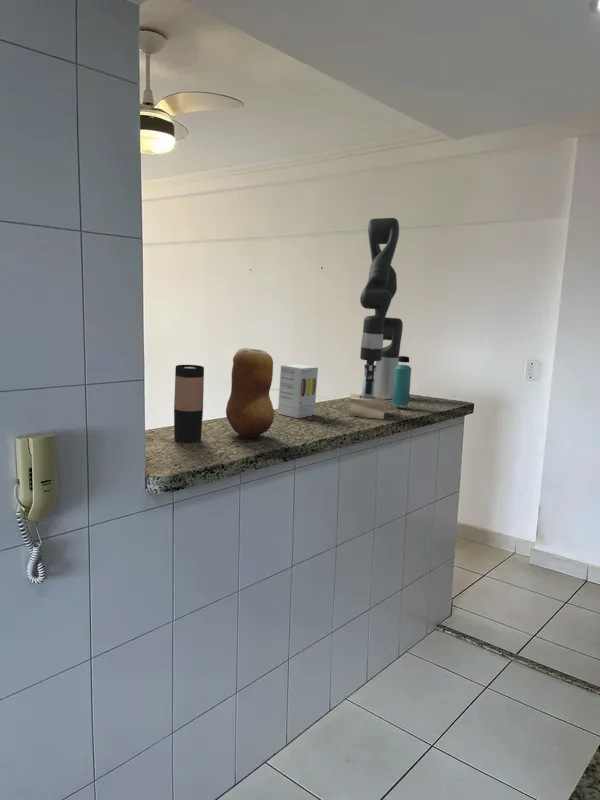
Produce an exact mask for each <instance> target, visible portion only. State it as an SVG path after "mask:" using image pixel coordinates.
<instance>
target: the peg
mask: <svg viewBox="0 0 600 800" xmlns="http://www.w3.org/2000/svg"><path fill="white" fill-rule="evenodd" d="M368 379H371V378H368ZM373 380H374V381H375V377H374V378H373ZM365 381H366V378H365V376H364V377H363V378H362V391H361V394H362V398H363V399H373V393H374V382H373V384H372V393H371V394H365V388H366V382H365Z"/></svg>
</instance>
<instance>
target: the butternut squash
mask: <svg viewBox="0 0 600 800" xmlns="http://www.w3.org/2000/svg"><path fill="white" fill-rule="evenodd" d="M273 374H274V360H273V358H272V356H271V355H270V354H269V353H268V352H267V351H265V350H263V349H257V348H256V349H255V348H253V349H252V348H248V347H242V348H240V349H238V350H237V351H236V352H235V354H234V355H233V357H232V368H231V389H230V395H229V398H228V400H227V405H226V409H225V415H226V418H227V421H228V423H229V424H230V426H231V428H232V429H233V430H234V432H235V433H236V434H238V435H239V437H241V438H243V439H246V440H248V439H252V438H256V437H258V436H261V435H263V434H264V433H266V432H268V431H269V429H270V428H271V426H272V424H273V423H274V419H275V412H274V411H275V410H274V407H273V403H272V401H271V397H270V390H271V387H272V382H273Z"/></svg>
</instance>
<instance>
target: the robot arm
mask: <svg viewBox="0 0 600 800" xmlns="http://www.w3.org/2000/svg"><path fill="white" fill-rule="evenodd" d="M367 227H368V229H367V230H368V231H367V232H368V242H369V248H370V249H369V250H370V255H371V256H370V257H371V264H370V267H369V272H368V273H369V274H368V279H367V282H366V284H365V285H364V288H363V290H362V292H361V294H360V298H359V300H360V301H359V302H360V305H361V306H362V307H363V308H364V309H366V310H374V315H368V316H365V317H364V319H363V328H362V329H363V330H362V335H361V340H360V341H361V344H360V355H359V359H360V360H363V361H366V362H365V363H366V364H364V368H363V369H364V377H365V378H366V381H365V382H366V388H365V394H371V393H372V384H373V382H374V393H373V395H377V396H384V399H385V400H392V398H393V396H392V395H393V393H392V392H393V384H394V375H395V367H396V366H397V365H399V362H398V360H399V356H400V350H401V343H402V342H401V341H402V335H403V327H404V325H403V320H402V318H397V317H387V314H388V311H389V308H390V306H391V302H392V299H393V298H394V296H395V294H396V293H397V290H398V287H397V285H398V283H397V273H396V270H395V268H394V267H393V266H392V261H393V258H394V254H395V251H396V248H397V245H398V241H399V235H400V224H399V221H398V219H397V218H395V217H382V218H380V217H379V218H371V219H370V220H369V221H368V225H367ZM380 245H385V246H384V248H382V249H381V247H380ZM384 341H391V342H390V344H389V345H387V346H385V347H384ZM368 378H371V379H368ZM373 378H375V381H374V380H373Z"/></svg>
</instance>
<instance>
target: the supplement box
mask: <svg viewBox="0 0 600 800" xmlns="http://www.w3.org/2000/svg"><path fill="white" fill-rule="evenodd" d="M318 370H319V367H318V366H312V365H305V364H299V363H296V364H281V365H280V372H279V373H280V374H279V375H280V376H279V388H278V391H279V392H278V402H277V403H278V407H277V414H279V415H283V416H287V417H291V418H294V419H301V418H306V417H307V416H308V417H312V415H314V416H315V410H316V397H317V385H318V384H317V383H318Z"/></svg>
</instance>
